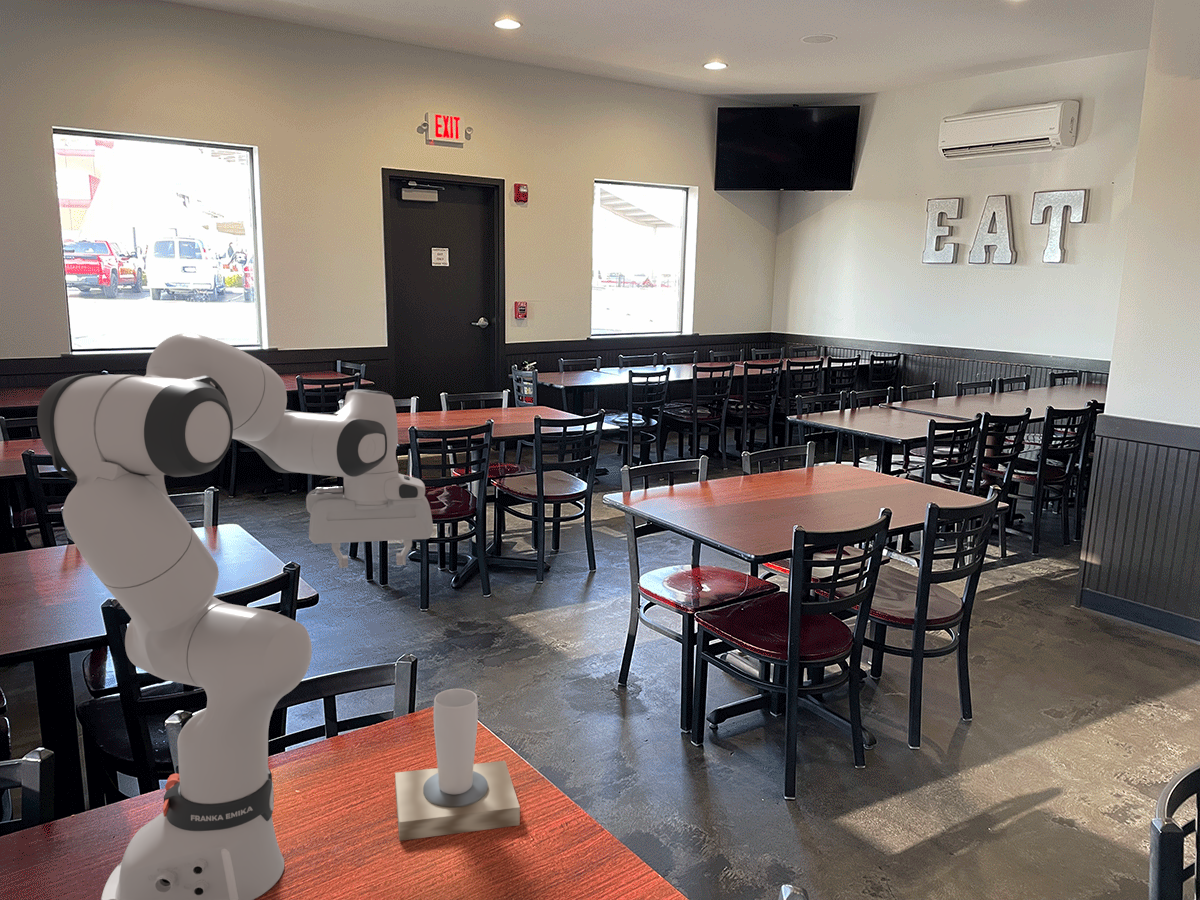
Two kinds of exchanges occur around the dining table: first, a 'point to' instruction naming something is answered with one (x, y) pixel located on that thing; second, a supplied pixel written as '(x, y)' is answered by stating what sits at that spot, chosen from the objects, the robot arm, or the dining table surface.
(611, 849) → the dining table surface
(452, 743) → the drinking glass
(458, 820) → the block
